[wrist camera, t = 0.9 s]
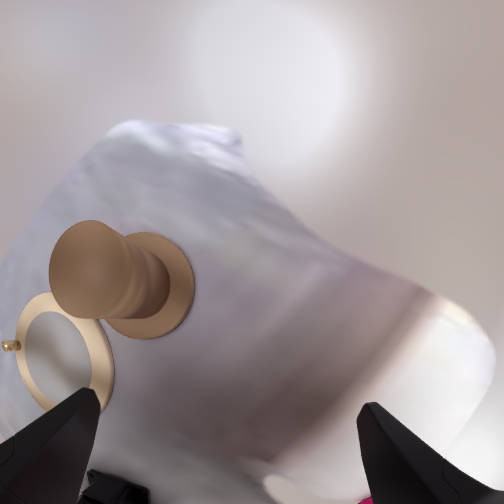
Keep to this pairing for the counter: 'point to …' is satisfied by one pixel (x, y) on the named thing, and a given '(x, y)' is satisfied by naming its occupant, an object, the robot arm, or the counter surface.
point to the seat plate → (61, 353)
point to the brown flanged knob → (122, 279)
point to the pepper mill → (367, 501)
